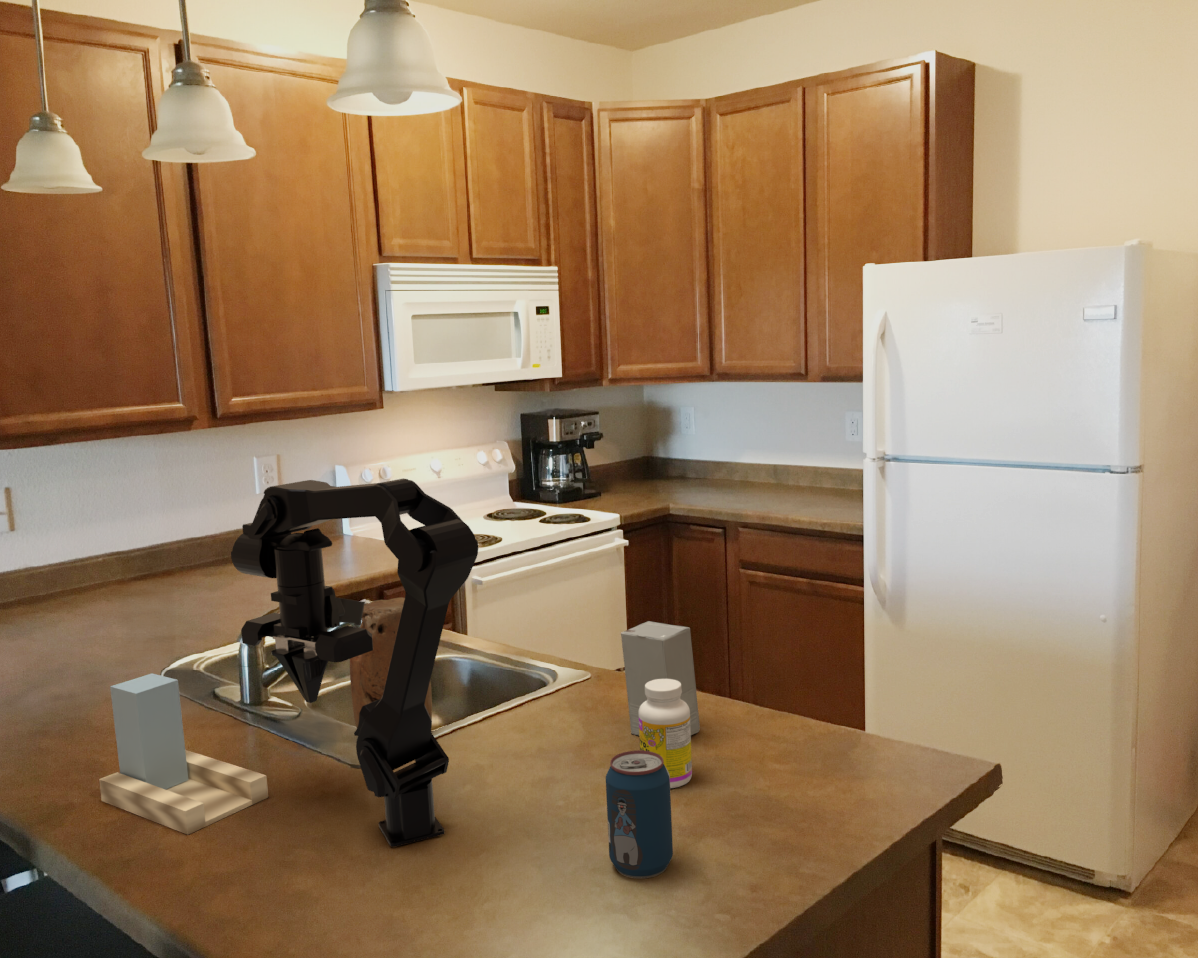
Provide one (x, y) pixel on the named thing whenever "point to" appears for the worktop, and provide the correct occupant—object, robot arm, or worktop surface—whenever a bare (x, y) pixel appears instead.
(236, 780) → the chute
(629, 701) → the skincare box
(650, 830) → the soda can
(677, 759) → the supplement bottle
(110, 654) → the worktop surface
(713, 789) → the worktop surface
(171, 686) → the grey rectangular block
